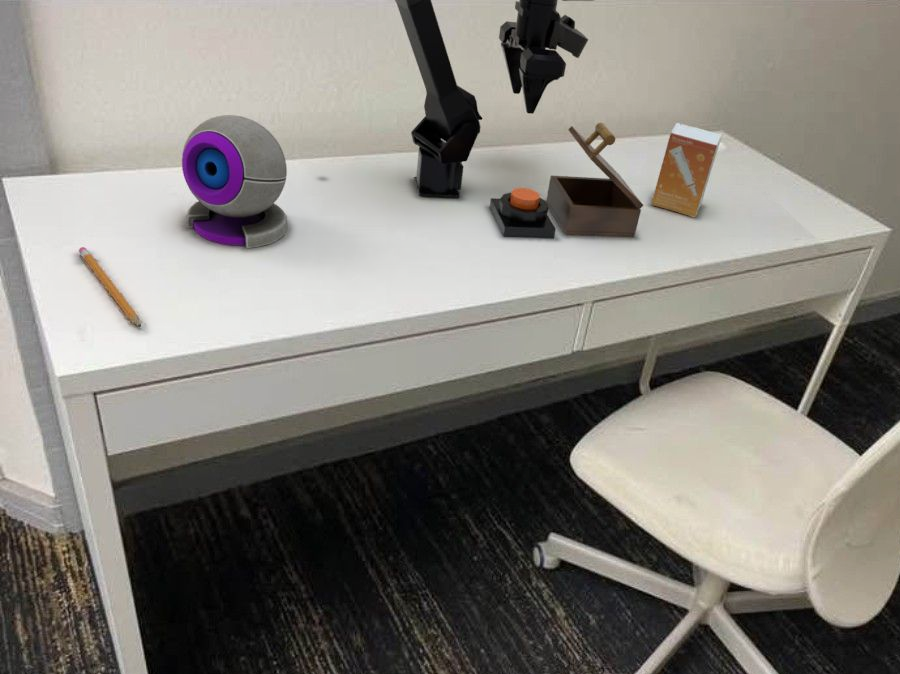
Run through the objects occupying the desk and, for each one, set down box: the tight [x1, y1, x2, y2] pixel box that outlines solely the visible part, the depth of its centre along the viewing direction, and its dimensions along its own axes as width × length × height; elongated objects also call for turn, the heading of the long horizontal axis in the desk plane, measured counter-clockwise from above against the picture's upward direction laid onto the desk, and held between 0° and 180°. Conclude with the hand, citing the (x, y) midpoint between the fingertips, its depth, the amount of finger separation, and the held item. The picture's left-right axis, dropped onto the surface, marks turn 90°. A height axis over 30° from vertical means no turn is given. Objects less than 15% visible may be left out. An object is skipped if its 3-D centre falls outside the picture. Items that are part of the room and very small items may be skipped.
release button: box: [510, 187, 541, 210], centre depth 130 cm, size 4×4×2 cm
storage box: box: [545, 175, 642, 239], centre depth 136 cm, size 12×12×5 cm
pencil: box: [78, 246, 142, 328], centre depth 99 cm, size 1×1×19 cm
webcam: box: [181, 114, 288, 249], centre depth 113 cm, size 13×13×15 cm
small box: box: [651, 122, 723, 218], centre depth 145 cm, size 8×6×13 cm
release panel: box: [489, 192, 556, 239], centre depth 132 cm, size 10×8×4 cm
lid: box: [568, 122, 645, 209], centre depth 132 cm, size 12×12×5 cm
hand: (522, 103), depth 138 cm, fingers open, 9 cm apart
